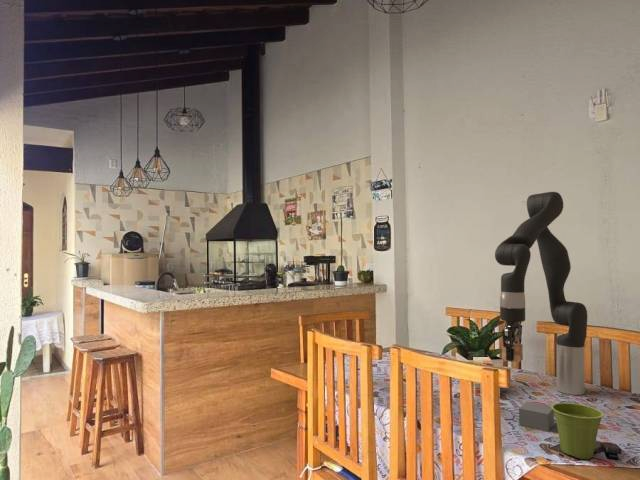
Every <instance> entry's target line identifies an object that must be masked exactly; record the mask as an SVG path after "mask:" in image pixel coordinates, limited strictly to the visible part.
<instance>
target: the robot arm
mask: <svg viewBox="0 0 640 480" xmlns="http://www.w3.org/2000/svg"><path fill="white" fill-rule="evenodd" d="M526 209H527V213H528V214H527V215H528V217H529V218H527V219H526V220H525V221H523V222H522V223H521V224H519V226H518V227H517V228H516V230H515V231H514V233H513V234H512V235H511V236H508V237H507V238H506V239H505V240H503V241H501V243H499V244H498V246H497V247H496V249H495V252H494V258H495V262H496V263H498V264H499V265H501V266H507V267H508V266H510V267H513V266H514V269H513V270H512V271H511V272H506V273H502V275H501V277H500V298H499V302H500V303H499V319H500V320H501V321H505V326H504V328H502V329H501V330H502V331H501V333H502V344H503V347H505V348H506V360H509V361H508V362H510V361H513V360H514V343H516V344H521V343H522V335H523V324H520V323H523V322H525V321H526V295H525V278H526V274H527V270H528V267H529V265H530V261H531V257H532V256H531V251H530V250H531V249H532V247H533V245H534V244H535V242H537V246H538V251H539V255H540V256H539V257H540V262H541V264H542V269H543V273H544V276H545V277H544V278H545V282H546V287H547V292H548V302H549V308H550V315H551V319H552V320H553V322H554V323H555V324H557V325H559V326H564V327H568V330H567V333H565V334H560V335H557V336H556V391H558V392H560V393H562V394H566V395H570V396H571V395H574V396H581V395H585V394H586V392H585V391H586V386H585V385H586V380H585V379H586V377H585V376H586V375H585V373H586V369H585V367H586V360H585V359H586V357H585V356H586V354H585V353H586V352H585V348H586V347H585V342H586V339H587V333H588V332H587V329H588V310H587V307H586V305H585V304H583V303H581V302H578V301H577V302H575V301H568V300H567V299H566V298H565V297H566V296H565V290H564V289H565V284H566V281H567V280H568V277H569V275H570V272H571V268H572V266H571V260H570V255H569V252H568V249H567V247H566V246H565V245H564V244H563V243H562V242H561V240H559V238H557V236H556V235H554V234H553V233H552V232H551V230H550V229H549V227H548V226H550V225H551V224H552V223H553V222H554V221H555V220H556V219H557V218H558V217H560V215H561V214H562V212H563V210H564V199H563V197H562V195H561V194H560V193H559V192H557V191H548V192H541V193H535V194H531V195H528V197H527V199H526ZM508 343H510V344H508Z"/></svg>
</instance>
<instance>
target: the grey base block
mask: <svg viewBox="0 0 640 480" xmlns="http://www.w3.org/2000/svg"><path fill="white" fill-rule="evenodd" d="M551 406H552V405H546V404H541V403H536V402H530V401H525V402H524V403H523V404H522V405H520V407H518V425H519V426H521V427H522V426H523V427H525V428H530V429H533V430H538V431H544V432H549V431H550V430H551V429H552V427H553V426H555V415H554V410H553V409H552V408H551Z"/></svg>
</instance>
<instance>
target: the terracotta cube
mask: <svg viewBox="0 0 640 480" xmlns="http://www.w3.org/2000/svg"><path fill="white" fill-rule="evenodd" d="M508 344H510V343H509V342H508ZM523 352H524V345H523V344H521V343H520V344H516V343H514V360H513V361H509V360H506V348H505V347H503V343H502V344H501V361H505V362H511V363H518V364H519V363H520V362H522V361H523V359H524V358H523V357H524V356H523V354H524V353H523Z"/></svg>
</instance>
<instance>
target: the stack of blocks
mask: <svg viewBox="0 0 640 480" xmlns="http://www.w3.org/2000/svg"><path fill="white" fill-rule="evenodd" d="M473 361H474V362H477V363H483V364H486V365H490V366H494V364H495V363H494V362H493V361H492V359H491V357H489V356H488V357H473ZM473 394H474V396H475V397H481V396H480V384H474V392H473Z"/></svg>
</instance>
